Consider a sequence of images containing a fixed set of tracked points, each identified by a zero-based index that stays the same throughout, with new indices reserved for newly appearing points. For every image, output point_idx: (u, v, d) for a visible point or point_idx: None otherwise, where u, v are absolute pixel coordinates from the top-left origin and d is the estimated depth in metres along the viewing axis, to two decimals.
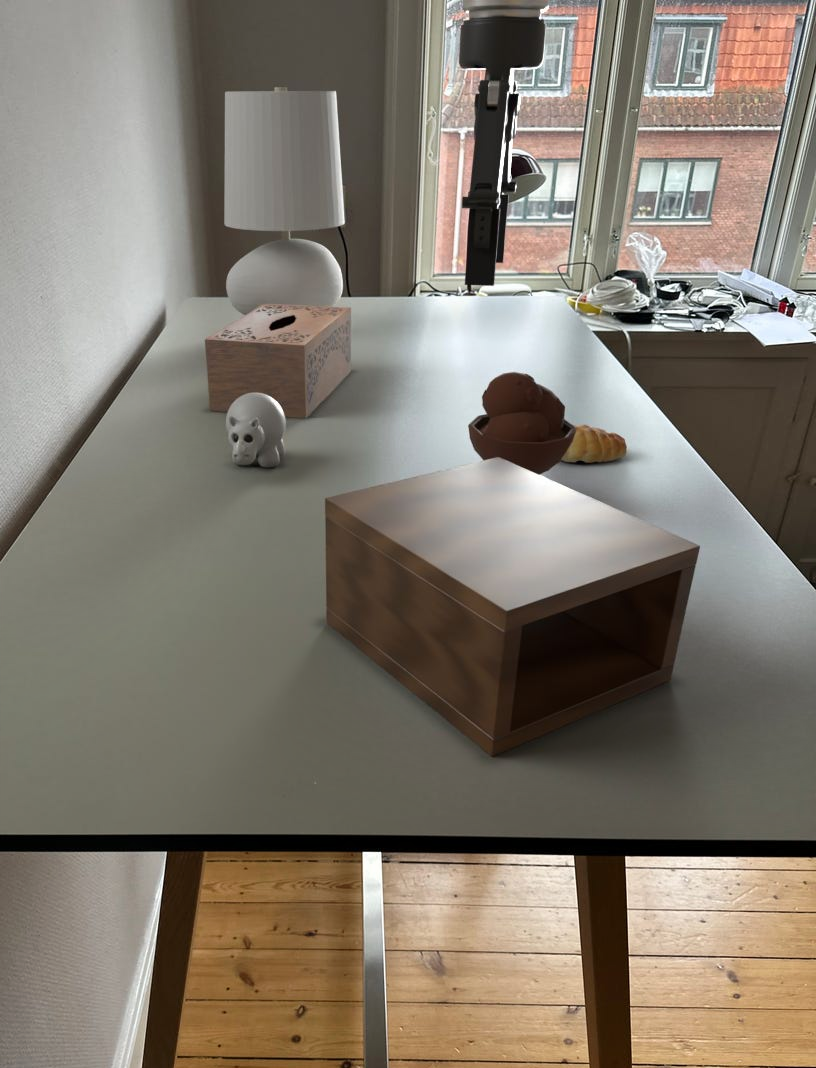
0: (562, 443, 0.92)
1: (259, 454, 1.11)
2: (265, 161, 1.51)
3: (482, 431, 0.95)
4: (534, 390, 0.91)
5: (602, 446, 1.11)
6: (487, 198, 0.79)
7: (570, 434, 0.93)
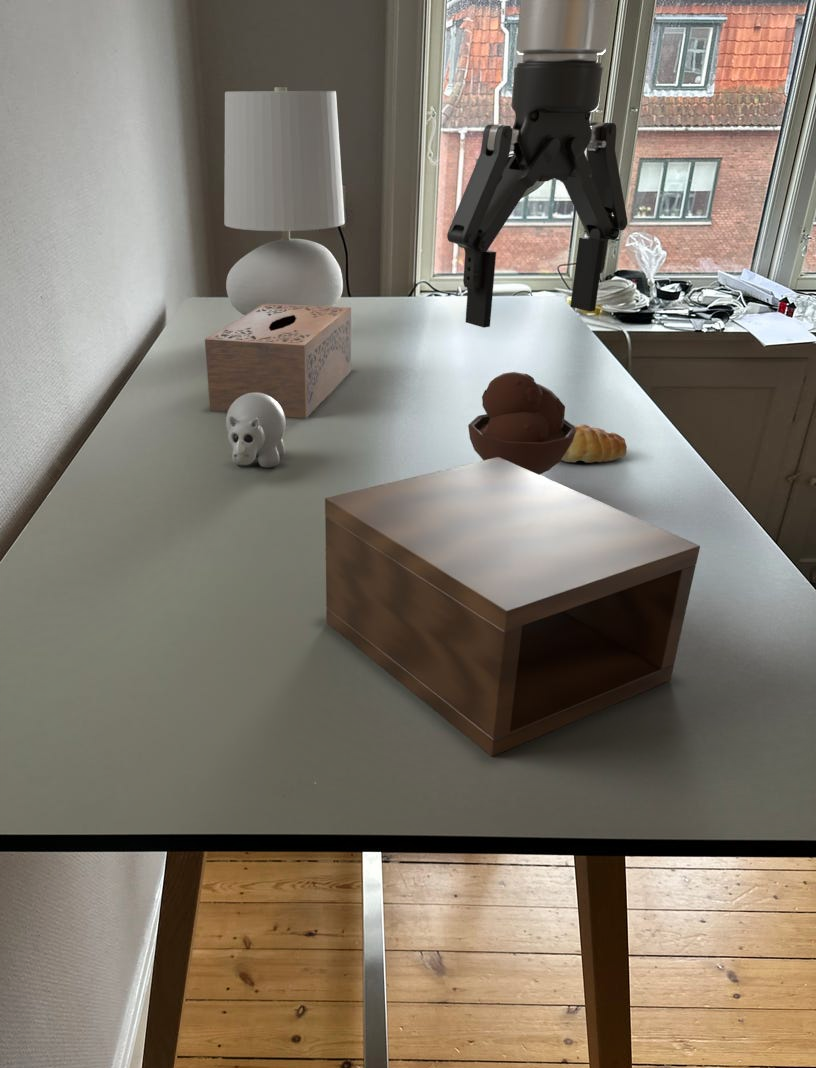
0: (562, 443, 0.92)
1: (259, 454, 1.11)
2: (265, 161, 1.51)
3: (482, 431, 0.95)
4: (534, 390, 0.91)
5: (602, 446, 1.11)
6: (458, 240, 0.81)
7: (570, 434, 0.93)
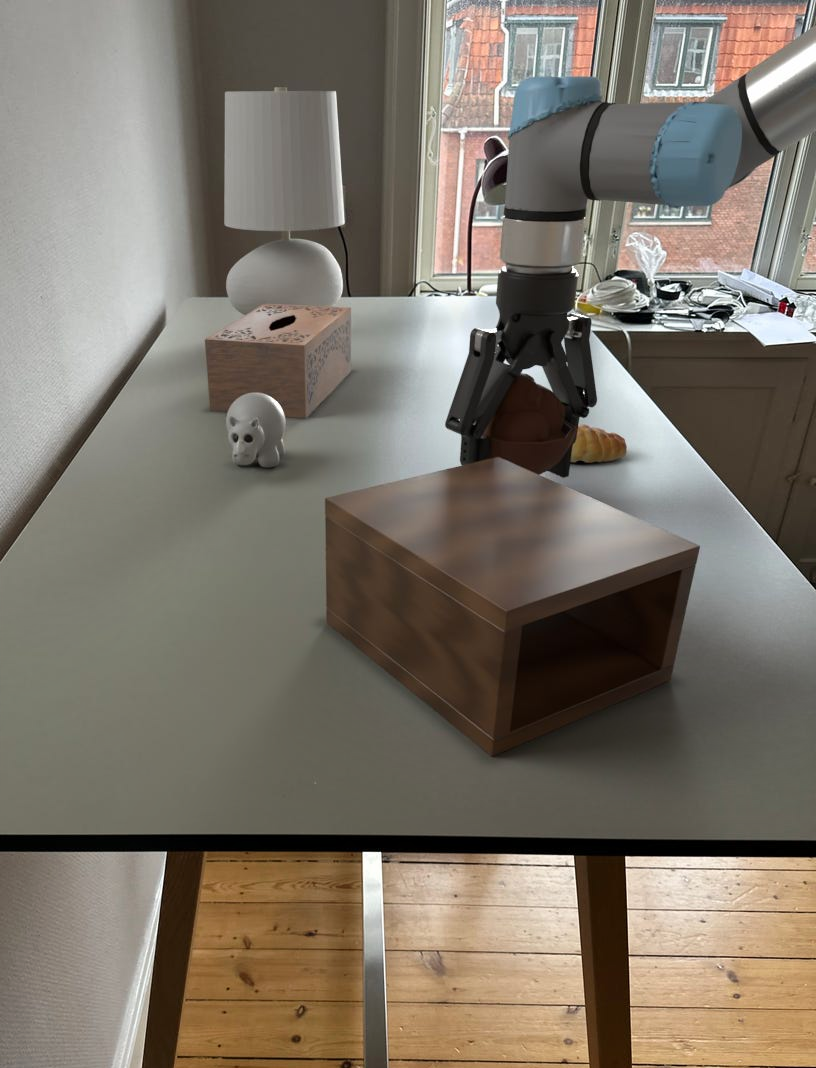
0: (562, 443, 0.92)
1: (259, 454, 1.11)
2: (265, 161, 1.51)
3: None
4: (534, 390, 0.91)
5: (602, 446, 1.11)
6: (455, 430, 0.90)
7: (570, 434, 0.93)
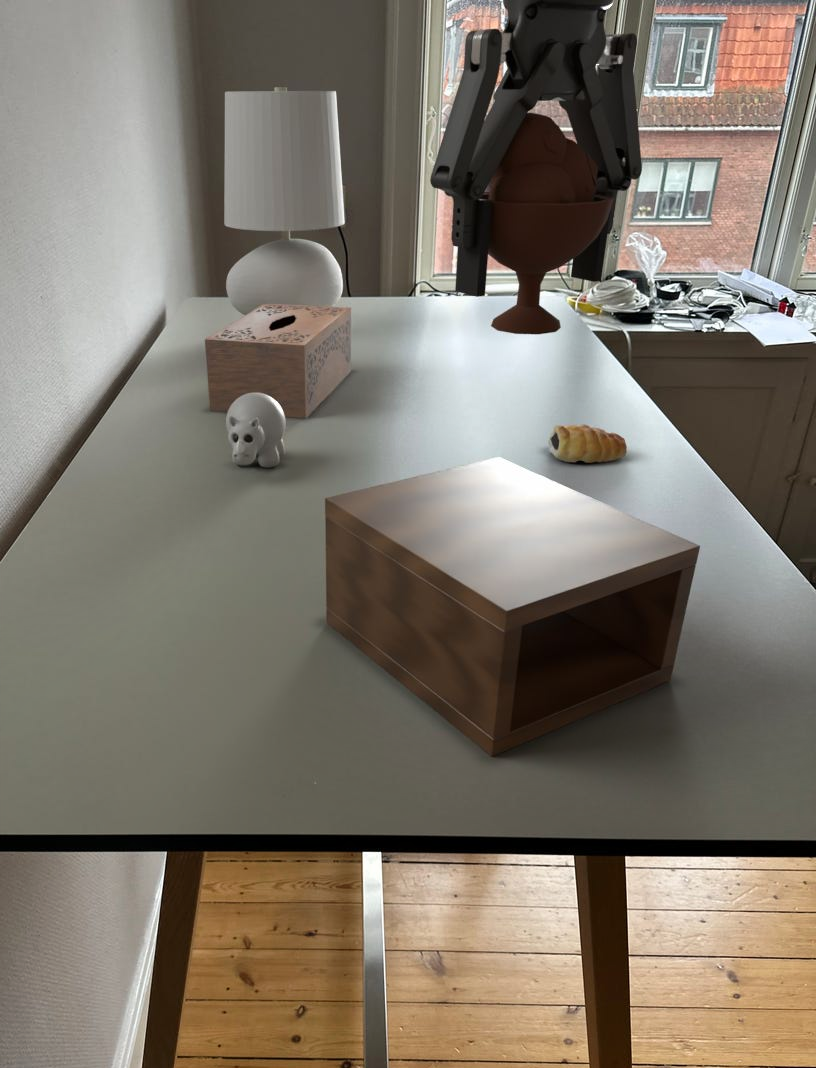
0: (594, 209, 0.66)
1: (259, 454, 1.11)
2: (265, 161, 1.51)
3: None
4: (555, 133, 0.65)
5: (602, 446, 1.11)
6: (443, 184, 0.64)
7: (605, 200, 0.67)
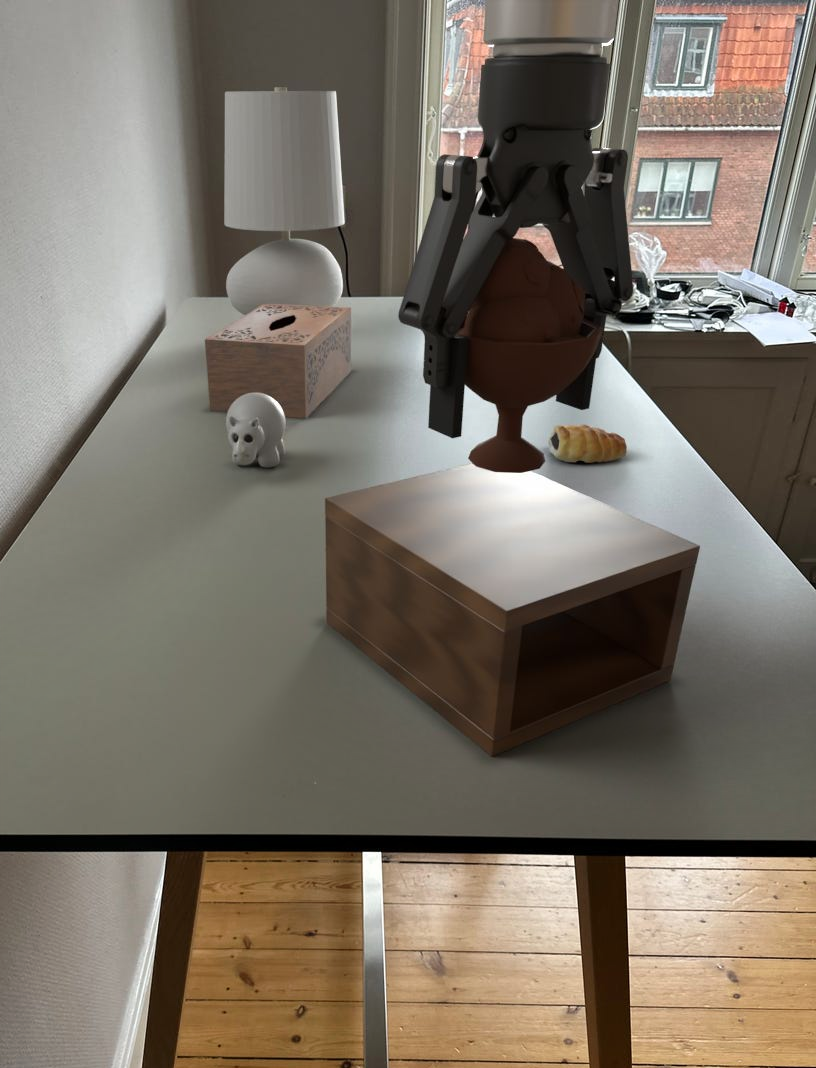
0: (581, 346, 0.59)
1: (259, 454, 1.11)
2: (265, 161, 1.51)
3: None
4: (537, 262, 0.58)
5: (602, 446, 1.11)
6: (413, 323, 0.57)
7: (594, 334, 0.60)
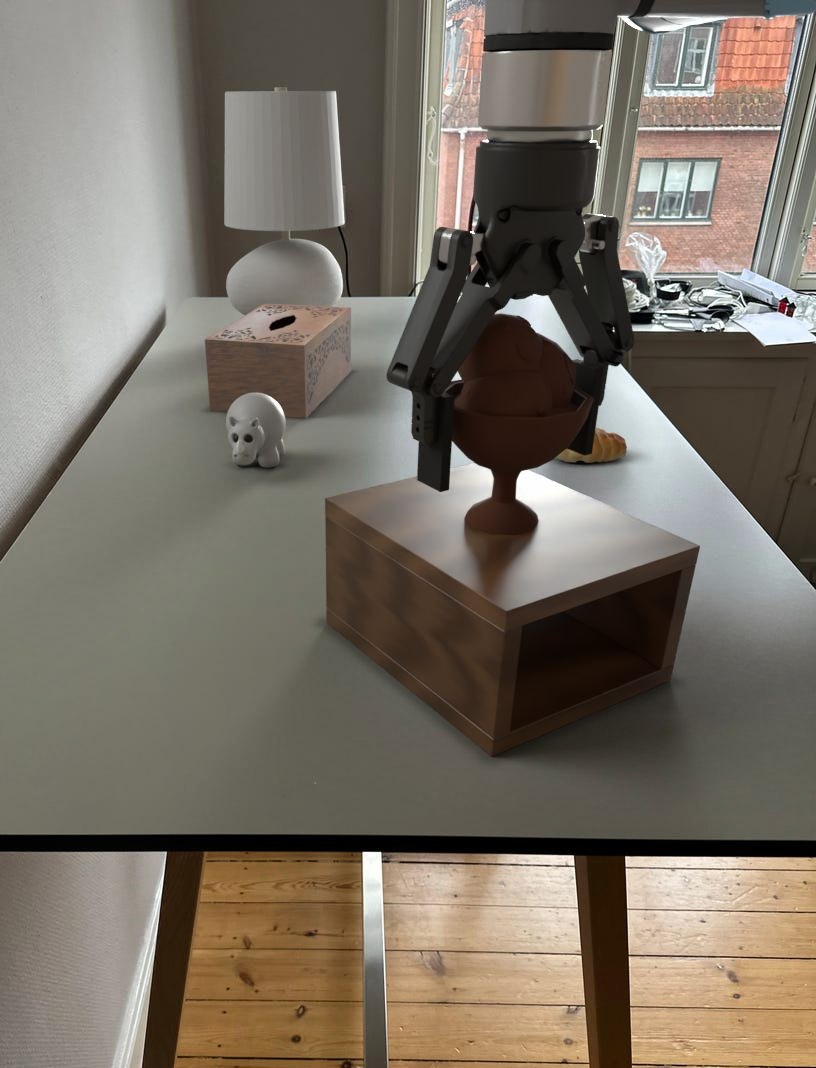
0: (572, 419, 0.61)
1: (259, 454, 1.11)
2: (265, 161, 1.51)
3: (454, 403, 0.65)
4: (530, 339, 0.60)
5: (602, 446, 1.11)
6: (401, 384, 0.58)
7: (584, 406, 0.62)
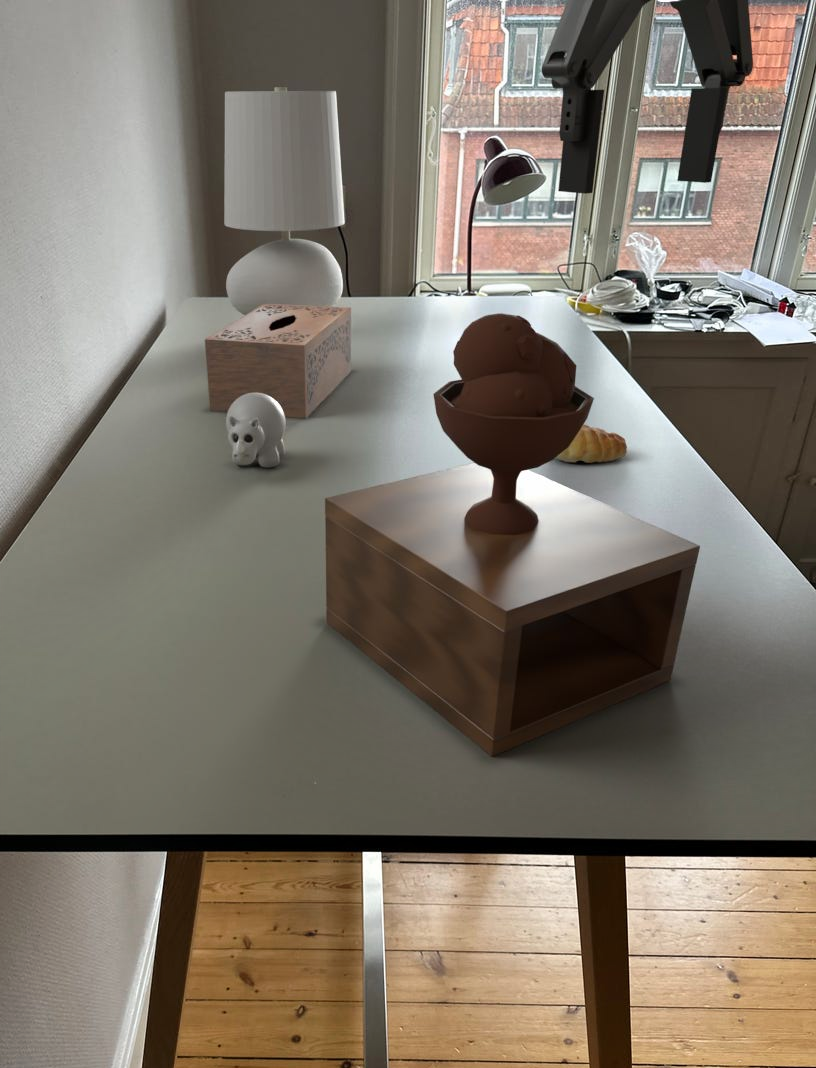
0: (572, 419, 0.61)
1: (259, 454, 1.11)
2: (265, 161, 1.51)
3: (454, 403, 0.65)
4: (530, 339, 0.60)
5: (602, 446, 1.11)
6: (558, 71, 0.62)
7: (584, 406, 0.62)
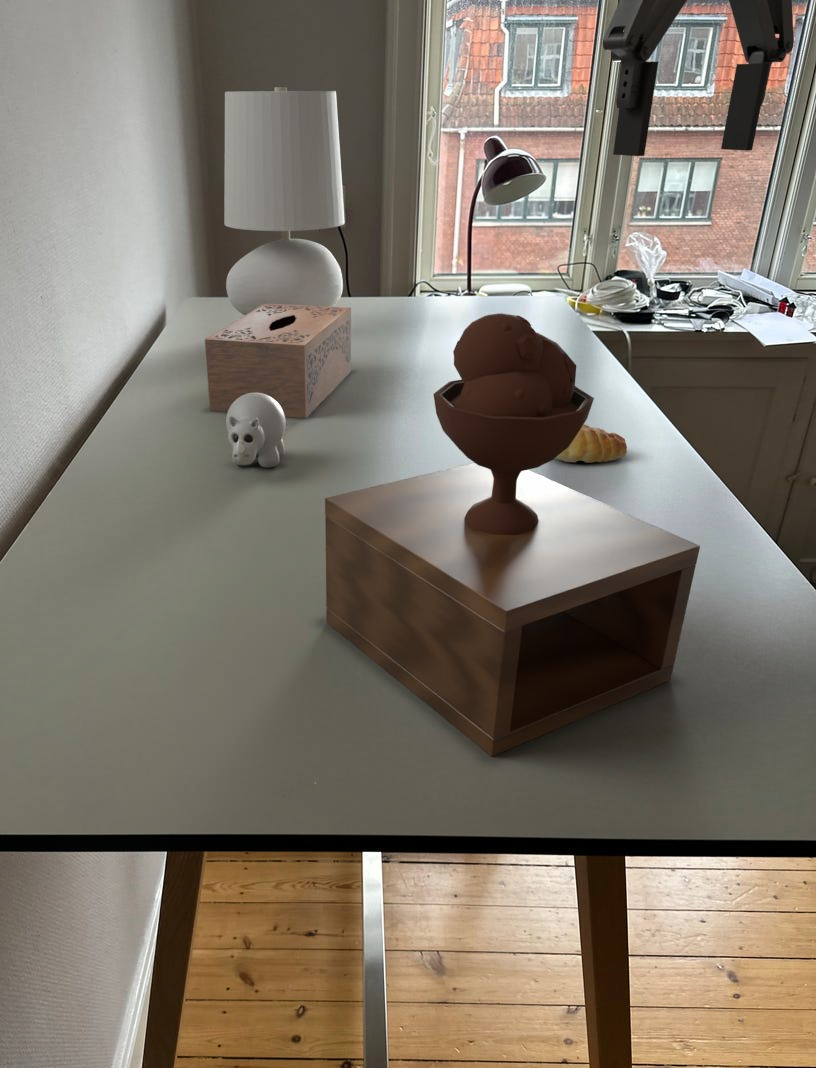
0: (572, 419, 0.61)
1: (259, 454, 1.11)
2: (265, 161, 1.51)
3: (454, 403, 0.65)
4: (530, 339, 0.60)
5: (602, 446, 1.11)
6: (618, 44, 0.70)
7: (584, 406, 0.62)
